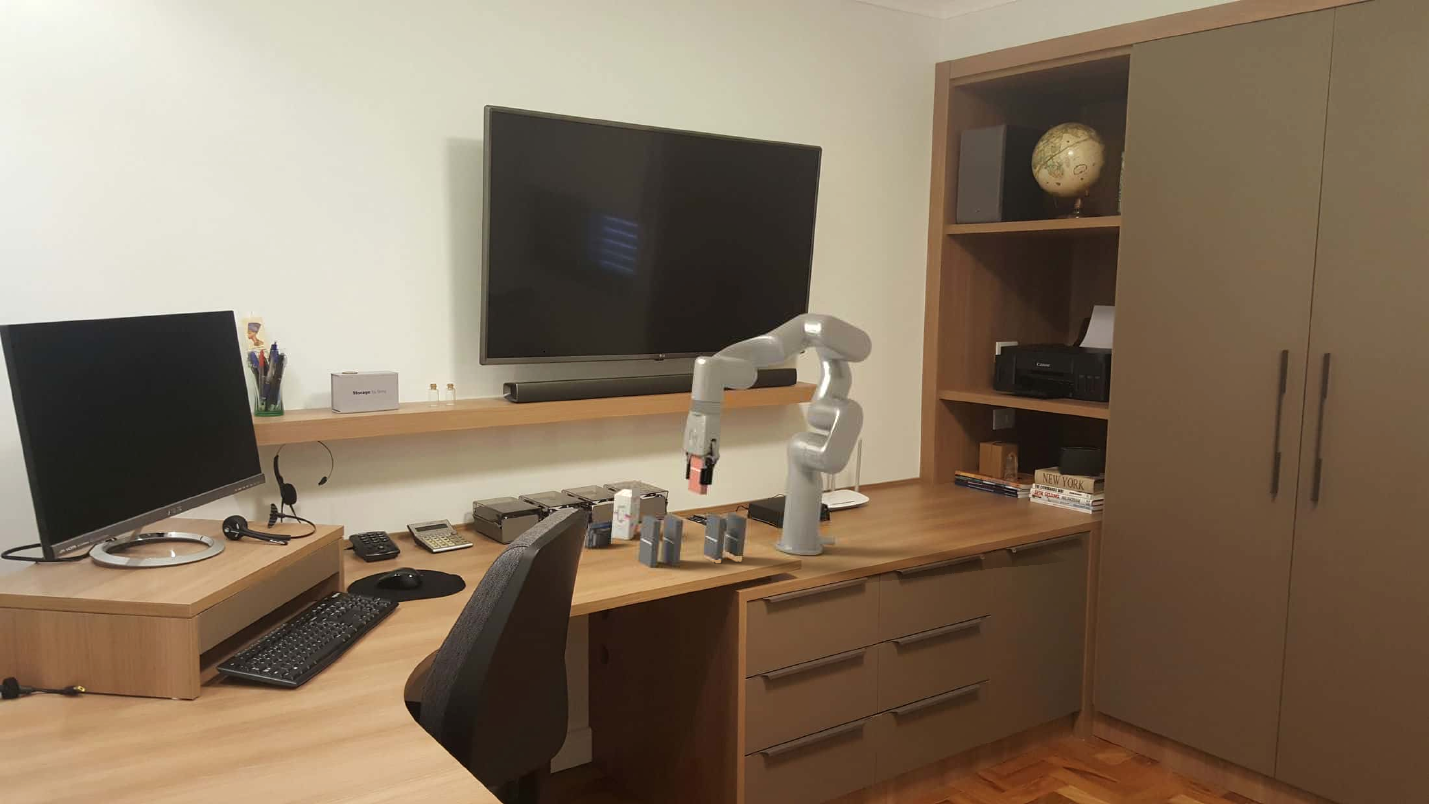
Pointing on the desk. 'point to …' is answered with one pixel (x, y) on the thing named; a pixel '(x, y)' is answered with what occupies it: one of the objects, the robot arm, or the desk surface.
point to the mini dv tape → (598, 534)
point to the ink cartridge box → (626, 512)
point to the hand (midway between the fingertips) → (698, 481)
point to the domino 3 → (696, 475)
